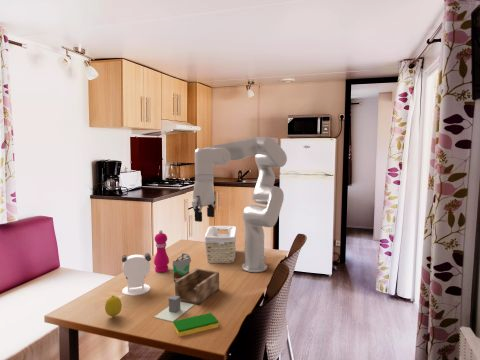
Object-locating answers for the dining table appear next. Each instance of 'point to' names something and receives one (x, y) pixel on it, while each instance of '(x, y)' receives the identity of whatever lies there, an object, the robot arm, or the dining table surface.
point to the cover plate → (174, 315)
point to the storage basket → (220, 244)
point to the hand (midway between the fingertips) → (204, 219)
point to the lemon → (113, 306)
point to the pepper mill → (161, 253)
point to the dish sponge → (195, 324)
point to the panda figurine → (136, 273)
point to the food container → (181, 266)
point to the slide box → (197, 286)
